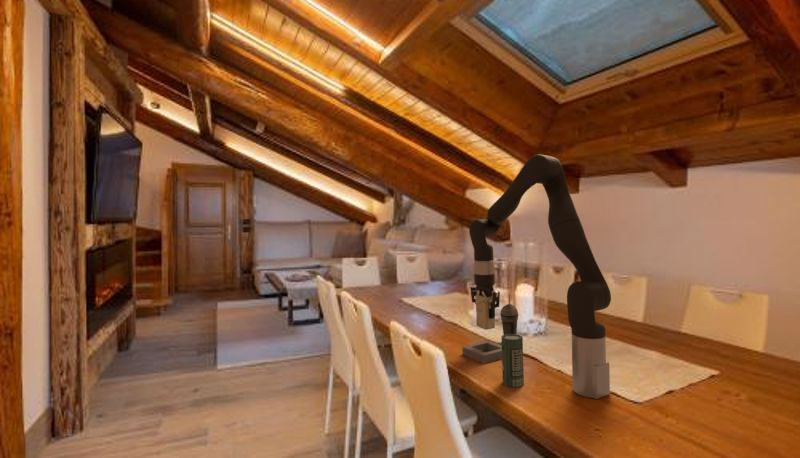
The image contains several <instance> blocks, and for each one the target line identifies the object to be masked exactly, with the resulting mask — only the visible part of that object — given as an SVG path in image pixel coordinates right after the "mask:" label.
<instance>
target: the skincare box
mask: <svg viewBox="0 0 800 458" xmlns="http://www.w3.org/2000/svg"><path fill="white" fill-rule="evenodd" d="M487 299H488V300H492V297H487V298H486V297H484V296H481V295H476V305H475V311H476V313H475V314H476V316H475V317H476V318H475V319H476V321H475V322H476V324H475V325H476V327H478V328H480V329H483V330H492V329H496V327H495V325H496V323H495V322H496V321H495V319H496V317H495V318H493V319H490V318H489V307H488V303H487ZM490 303H491V305H492V302H490Z"/></svg>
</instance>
